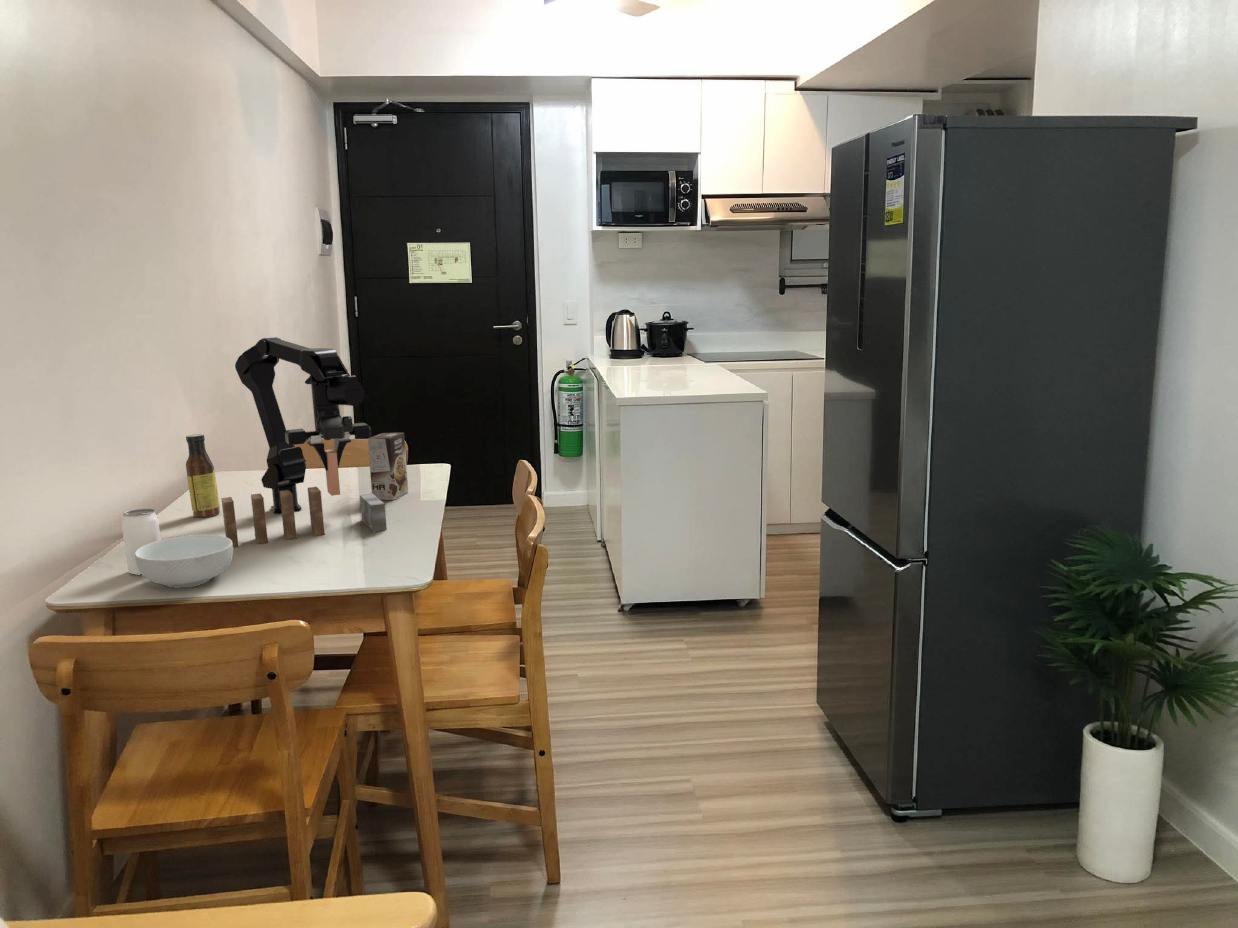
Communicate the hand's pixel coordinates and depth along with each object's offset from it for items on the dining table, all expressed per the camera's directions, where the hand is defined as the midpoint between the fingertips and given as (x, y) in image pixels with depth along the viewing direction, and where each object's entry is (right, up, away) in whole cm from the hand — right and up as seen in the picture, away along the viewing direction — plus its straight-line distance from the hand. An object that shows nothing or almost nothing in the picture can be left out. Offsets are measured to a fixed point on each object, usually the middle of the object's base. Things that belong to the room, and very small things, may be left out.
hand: (331, 469), depth 225 cm
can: (-26, -20, -35) cm, 48 cm away
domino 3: (-5, -15, -12) cm, 20 cm away
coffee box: (+8, -7, +24) cm, 26 cm away
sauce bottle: (-33, -11, +9) cm, 36 cm away
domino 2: (-11, -15, -15) cm, 24 cm away
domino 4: (0, -14, -10) cm, 17 cm away
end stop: (+11, -13, -4) cm, 17 cm away
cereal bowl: (-15, -21, -42) cm, 50 cm away
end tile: (0, -6, +1) cm, 6 cm away
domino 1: (-16, -16, -18) cm, 29 cm away
